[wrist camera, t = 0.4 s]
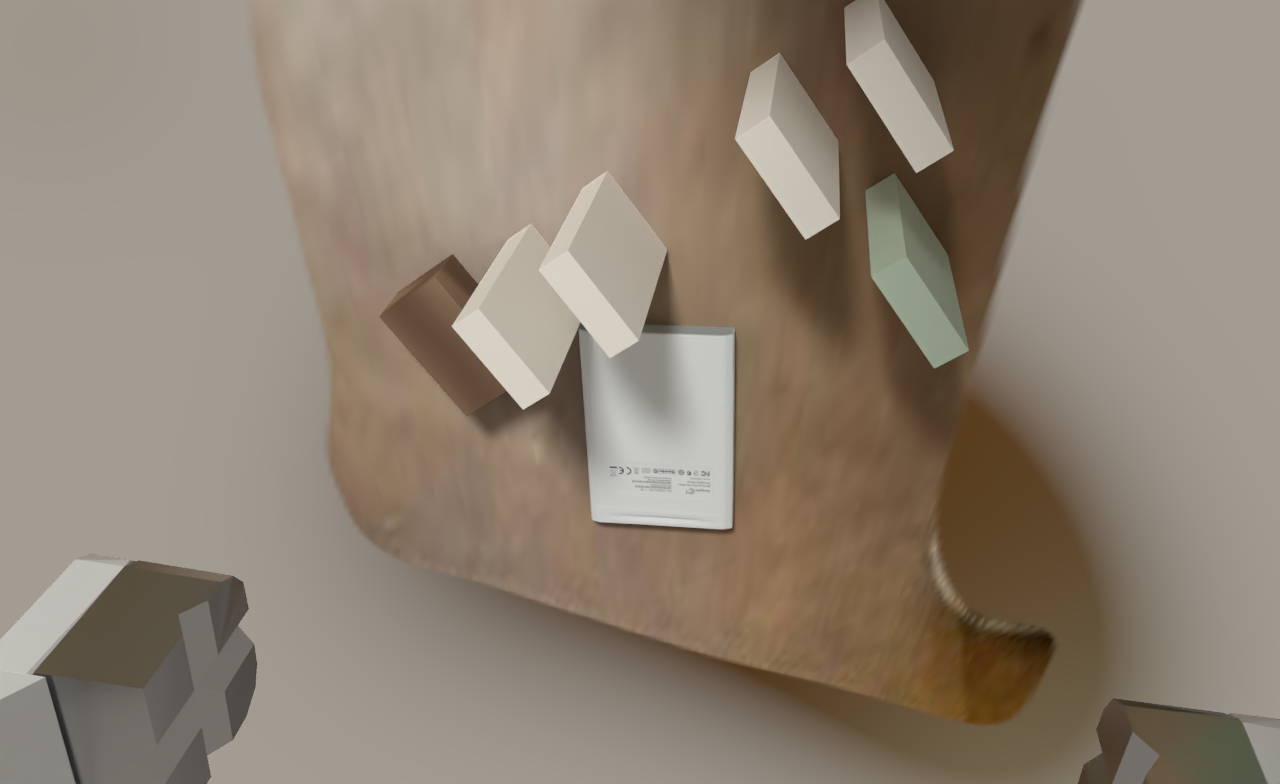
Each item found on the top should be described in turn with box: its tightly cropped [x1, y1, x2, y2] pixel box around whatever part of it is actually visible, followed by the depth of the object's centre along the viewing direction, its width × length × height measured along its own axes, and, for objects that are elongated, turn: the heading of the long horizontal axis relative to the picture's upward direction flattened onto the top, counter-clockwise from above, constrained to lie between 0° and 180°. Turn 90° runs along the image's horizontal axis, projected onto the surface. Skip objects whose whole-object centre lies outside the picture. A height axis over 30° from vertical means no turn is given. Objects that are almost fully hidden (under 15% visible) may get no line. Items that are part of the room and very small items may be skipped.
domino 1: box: [452, 224, 580, 409], centre depth 54 cm, size 2×5×10 cm, turn 37°
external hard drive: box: [579, 323, 735, 529], centre depth 62 cm, size 2×8×12 cm
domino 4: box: [844, 0, 954, 173], centre depth 46 cm, size 2×5×10 cm, turn 37°
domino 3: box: [735, 52, 840, 240], centre depth 48 cm, size 2×5×10 cm, turn 37°
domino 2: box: [539, 171, 667, 358], centre depth 52 cm, size 2×5×10 cm, turn 37°
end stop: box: [380, 254, 507, 416], centre depth 60 cm, size 4×7×3 cm, turn 37°
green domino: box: [865, 173, 969, 369], centre depth 50 cm, size 2×5×10 cm, turn 37°
